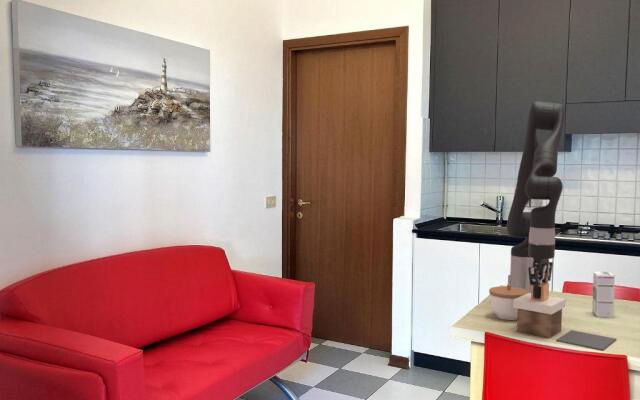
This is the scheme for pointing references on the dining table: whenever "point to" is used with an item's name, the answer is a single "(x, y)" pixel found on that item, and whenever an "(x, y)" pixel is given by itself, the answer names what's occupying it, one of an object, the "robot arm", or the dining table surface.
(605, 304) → the syrup box
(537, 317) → the storage box
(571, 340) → the mat
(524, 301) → the lid
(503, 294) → the lidded bowl
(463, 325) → the dining table surface
